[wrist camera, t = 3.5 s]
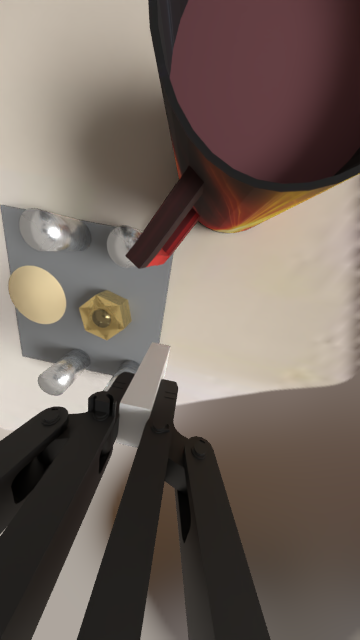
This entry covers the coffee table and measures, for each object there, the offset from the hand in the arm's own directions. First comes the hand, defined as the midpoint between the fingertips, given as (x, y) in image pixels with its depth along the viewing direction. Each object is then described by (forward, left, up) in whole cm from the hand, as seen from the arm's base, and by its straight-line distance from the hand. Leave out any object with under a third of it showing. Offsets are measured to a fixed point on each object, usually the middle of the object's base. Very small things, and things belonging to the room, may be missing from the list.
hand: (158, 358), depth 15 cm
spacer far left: (+7, -11, -7) cm, 15 cm away
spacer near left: (-8, -11, -7) cm, 15 cm away
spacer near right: (-8, -4, -7) cm, 11 cm away
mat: (0, -10, -7) cm, 12 cm away
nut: (0, -7, -7) cm, 10 cm away
